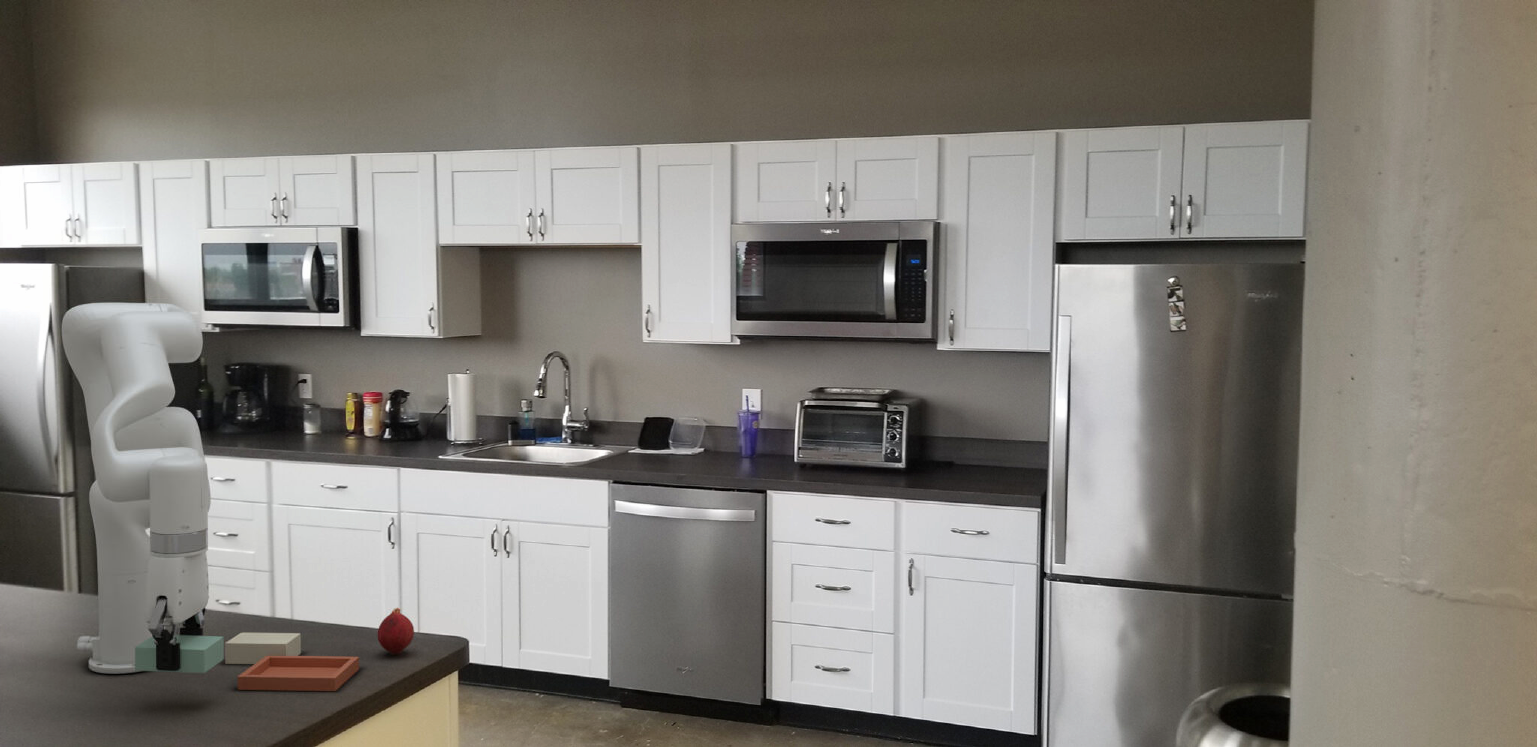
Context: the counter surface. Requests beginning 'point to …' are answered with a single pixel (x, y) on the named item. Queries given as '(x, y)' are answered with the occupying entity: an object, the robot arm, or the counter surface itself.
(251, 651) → the pad top
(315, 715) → the counter surface
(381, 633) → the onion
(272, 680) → the holder
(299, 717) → the counter surface
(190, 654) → the pad base
